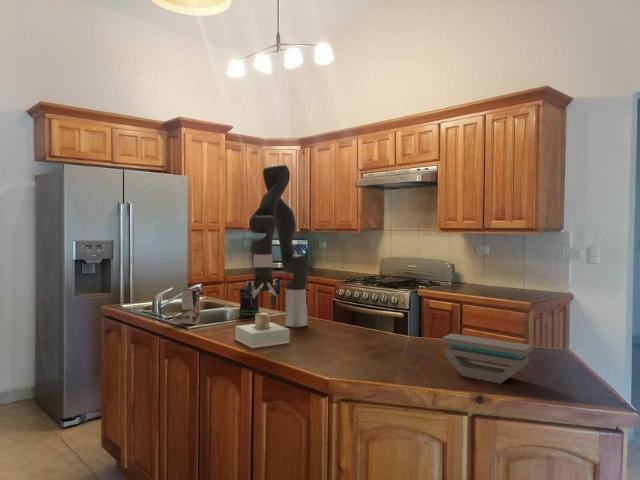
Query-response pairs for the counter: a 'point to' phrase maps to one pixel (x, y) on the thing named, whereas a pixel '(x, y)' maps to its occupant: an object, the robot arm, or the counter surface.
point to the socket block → (262, 335)
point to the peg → (262, 321)
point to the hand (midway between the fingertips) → (263, 306)
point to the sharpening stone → (485, 356)
